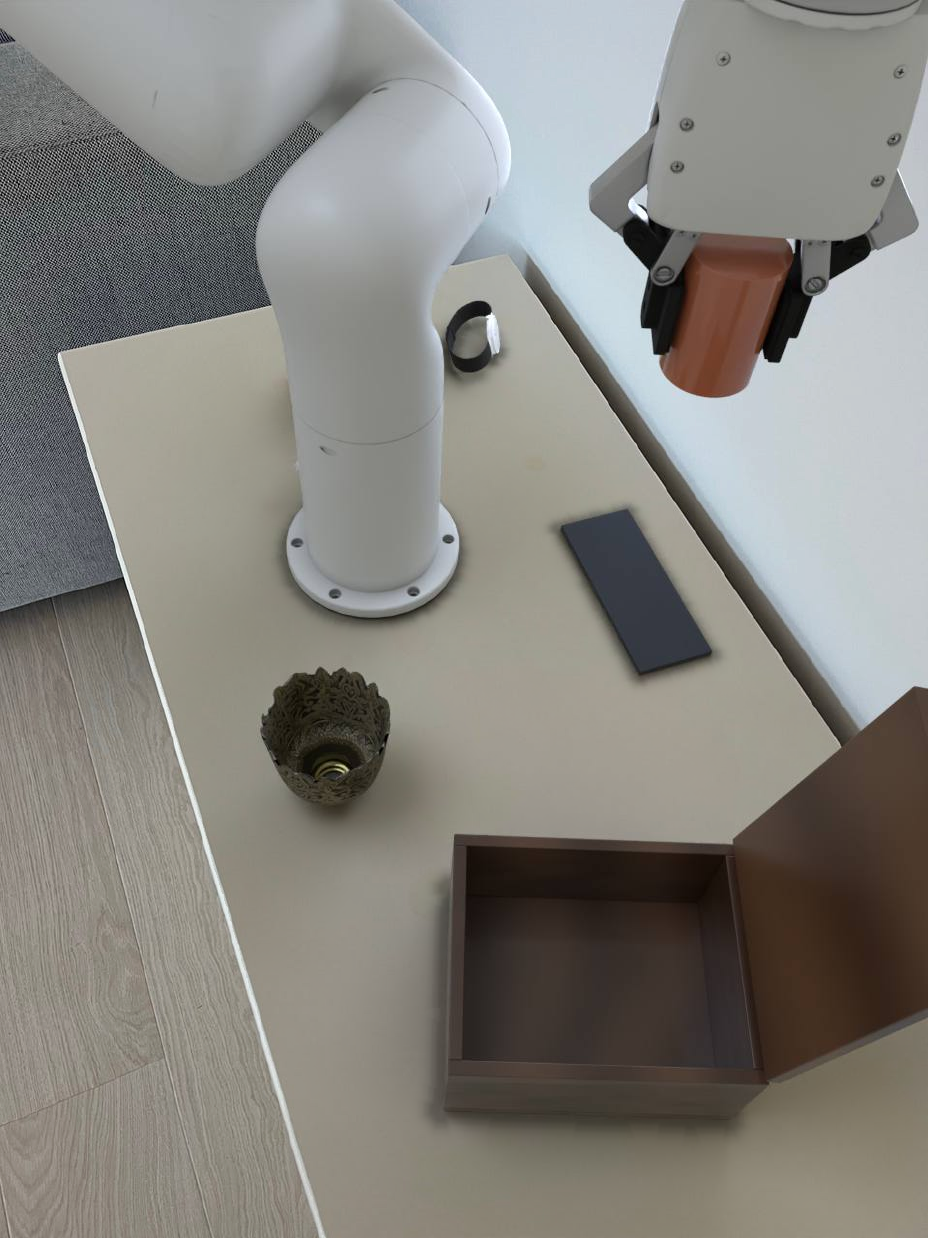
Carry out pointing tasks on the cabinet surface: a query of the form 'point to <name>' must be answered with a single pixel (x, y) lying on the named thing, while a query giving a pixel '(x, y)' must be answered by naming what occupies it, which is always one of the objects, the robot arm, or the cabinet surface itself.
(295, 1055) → the cabinet surface
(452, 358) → the watch
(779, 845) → the lid
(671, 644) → the mat
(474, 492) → the cabinet surface
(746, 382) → the glossy terracotta cylinder
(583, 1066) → the chest
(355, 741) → the cup
